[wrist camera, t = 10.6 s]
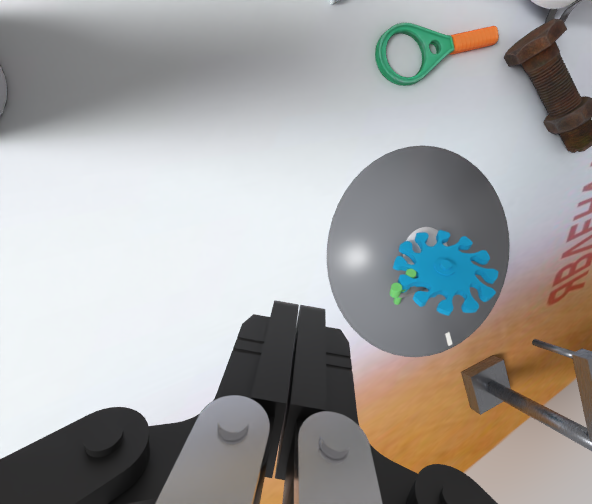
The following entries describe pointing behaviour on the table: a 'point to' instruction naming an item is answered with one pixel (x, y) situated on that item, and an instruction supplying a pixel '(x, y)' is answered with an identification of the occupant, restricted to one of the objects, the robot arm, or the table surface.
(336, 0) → the hard drive
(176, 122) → the table surface
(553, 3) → the coffee press
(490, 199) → the turntable
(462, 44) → the magnifying glass
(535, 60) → the bolt
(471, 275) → the gear
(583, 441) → the indicator stand
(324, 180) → the table surface
